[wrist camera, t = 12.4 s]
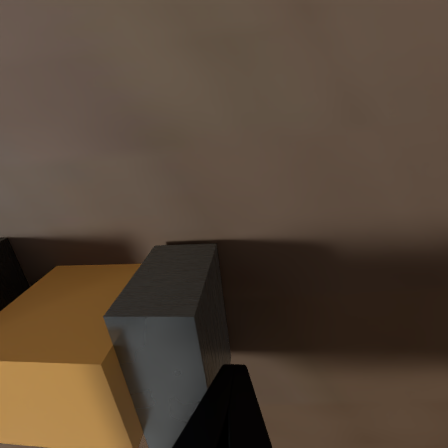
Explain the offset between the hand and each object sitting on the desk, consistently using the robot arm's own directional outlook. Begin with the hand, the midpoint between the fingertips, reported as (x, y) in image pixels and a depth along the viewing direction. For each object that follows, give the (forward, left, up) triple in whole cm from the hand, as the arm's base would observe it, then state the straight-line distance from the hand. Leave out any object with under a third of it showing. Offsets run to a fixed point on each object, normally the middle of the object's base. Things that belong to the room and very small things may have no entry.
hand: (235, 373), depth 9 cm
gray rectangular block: (0, +2, -3) cm, 4 cm away
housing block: (0, +6, -4) cm, 7 cm away
